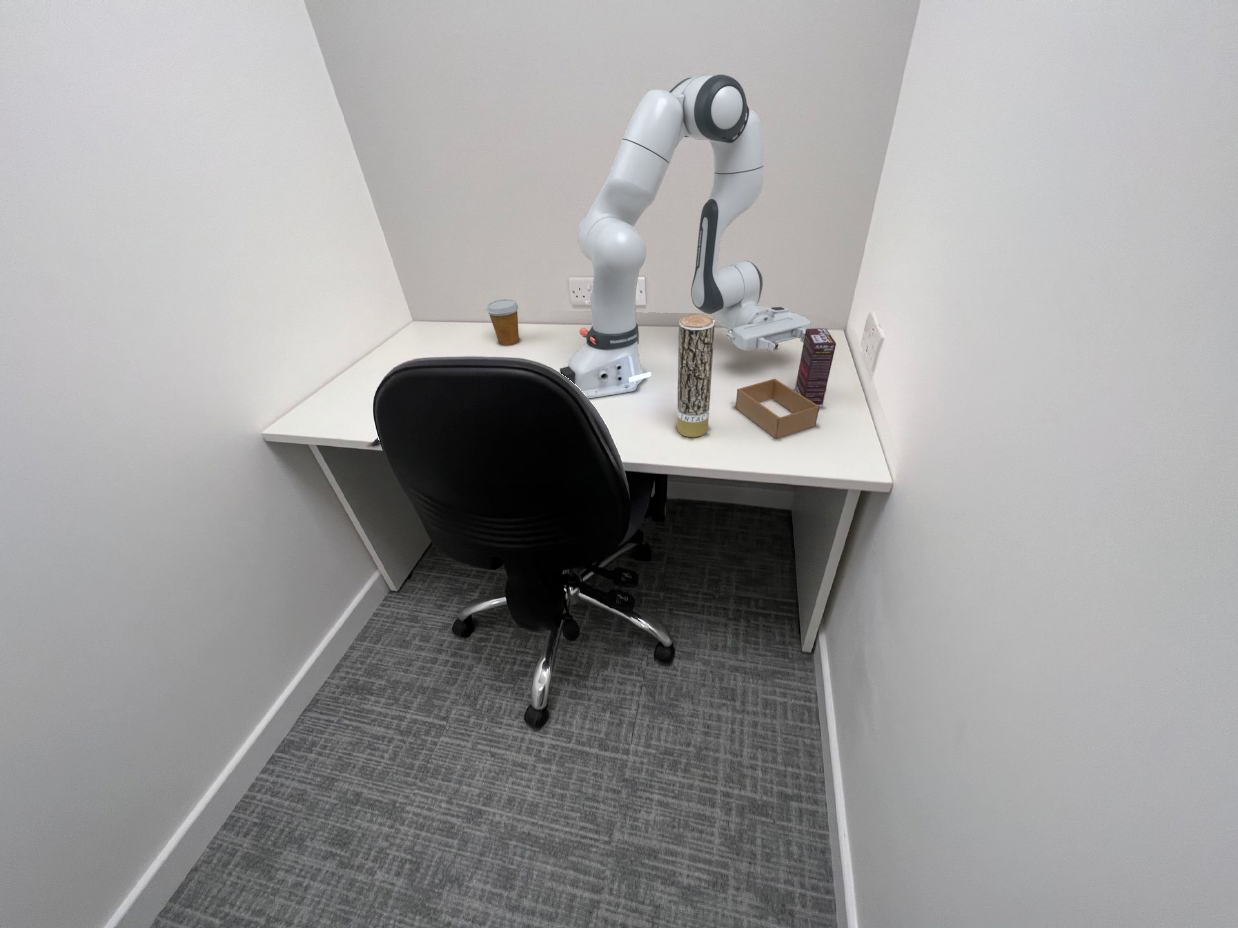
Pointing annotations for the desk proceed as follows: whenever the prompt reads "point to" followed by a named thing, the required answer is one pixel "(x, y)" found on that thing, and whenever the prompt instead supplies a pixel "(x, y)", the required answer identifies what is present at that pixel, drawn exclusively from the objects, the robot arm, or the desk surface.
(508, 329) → the disposable coffee cup
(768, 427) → the cardboard box
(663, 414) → the desk surface
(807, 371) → the supplement box
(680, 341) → the paper tube
